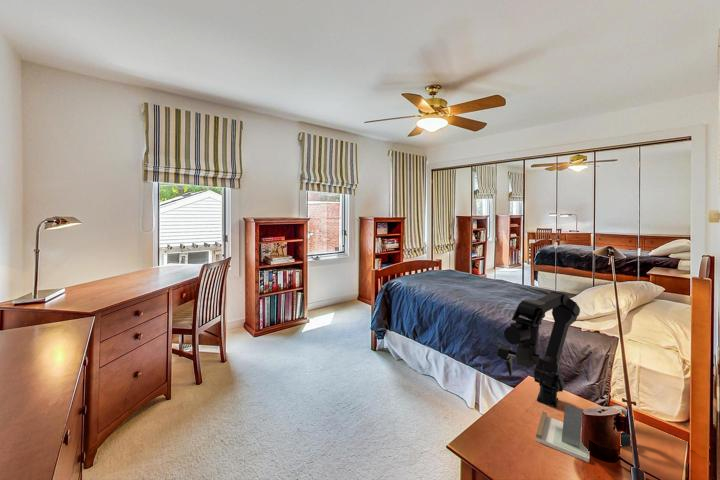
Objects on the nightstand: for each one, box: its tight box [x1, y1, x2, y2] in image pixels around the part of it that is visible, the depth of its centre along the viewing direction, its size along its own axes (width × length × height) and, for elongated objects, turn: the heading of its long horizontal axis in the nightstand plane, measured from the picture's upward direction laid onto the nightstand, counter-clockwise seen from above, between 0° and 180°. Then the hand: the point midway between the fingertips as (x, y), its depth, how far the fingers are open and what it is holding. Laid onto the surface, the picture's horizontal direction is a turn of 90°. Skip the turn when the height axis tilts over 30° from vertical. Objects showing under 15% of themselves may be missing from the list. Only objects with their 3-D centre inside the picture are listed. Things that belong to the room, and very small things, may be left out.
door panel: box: [535, 411, 591, 463], centre depth 100 cm, size 14×14×2 cm
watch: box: [609, 404, 636, 447], centre depth 99 cm, size 6×8×11 cm
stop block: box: [562, 403, 583, 448], centre depth 96 cm, size 4×4×10 cm
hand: (525, 380), depth 109 cm, fingers open, 9 cm apart
